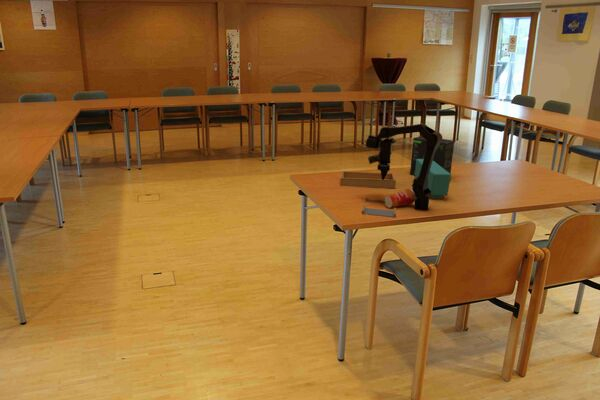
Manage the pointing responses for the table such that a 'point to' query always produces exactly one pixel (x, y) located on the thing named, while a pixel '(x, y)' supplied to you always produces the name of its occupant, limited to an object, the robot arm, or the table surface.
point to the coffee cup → (400, 198)
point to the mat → (379, 212)
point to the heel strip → (374, 200)
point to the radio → (435, 179)
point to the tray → (367, 179)
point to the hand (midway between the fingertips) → (382, 179)
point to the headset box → (441, 155)
